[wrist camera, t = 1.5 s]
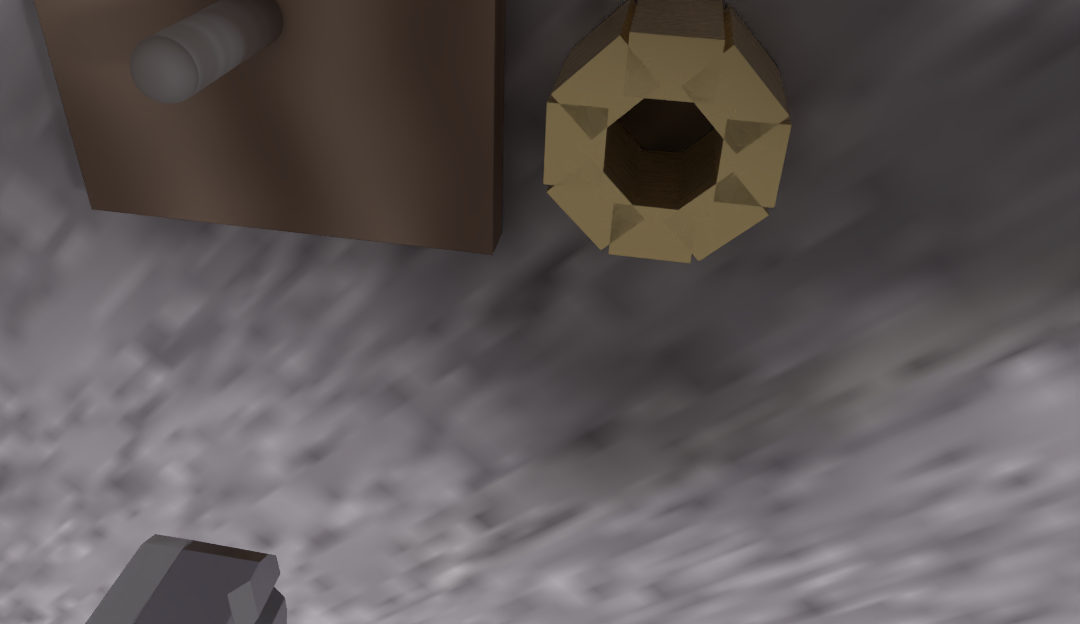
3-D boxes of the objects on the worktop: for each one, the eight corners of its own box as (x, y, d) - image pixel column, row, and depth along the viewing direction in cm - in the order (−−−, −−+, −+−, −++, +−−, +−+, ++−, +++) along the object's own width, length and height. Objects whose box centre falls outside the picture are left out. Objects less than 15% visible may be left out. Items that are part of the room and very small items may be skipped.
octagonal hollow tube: (793, 6, 24) (808, 46, 20) (753, 208, 27) (760, 271, 24) (571, -12, 24) (550, 25, 21) (560, 188, 28) (540, 246, 24)
